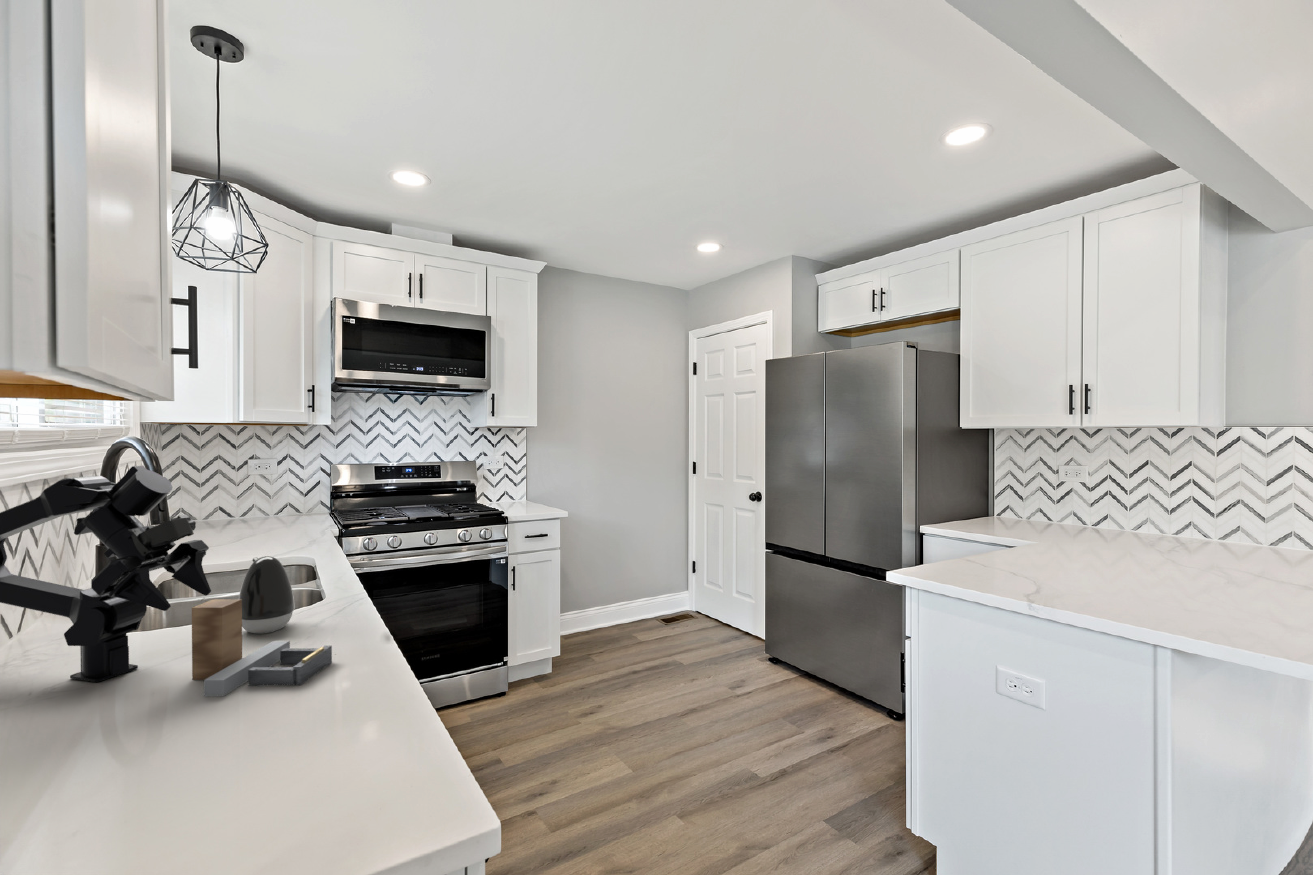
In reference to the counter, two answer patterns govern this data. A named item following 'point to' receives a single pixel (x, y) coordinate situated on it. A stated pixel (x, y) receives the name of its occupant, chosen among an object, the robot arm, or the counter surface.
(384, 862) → the counter surface
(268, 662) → the door edge
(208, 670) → the block
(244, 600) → the dark grey egg shape
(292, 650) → the keeper
